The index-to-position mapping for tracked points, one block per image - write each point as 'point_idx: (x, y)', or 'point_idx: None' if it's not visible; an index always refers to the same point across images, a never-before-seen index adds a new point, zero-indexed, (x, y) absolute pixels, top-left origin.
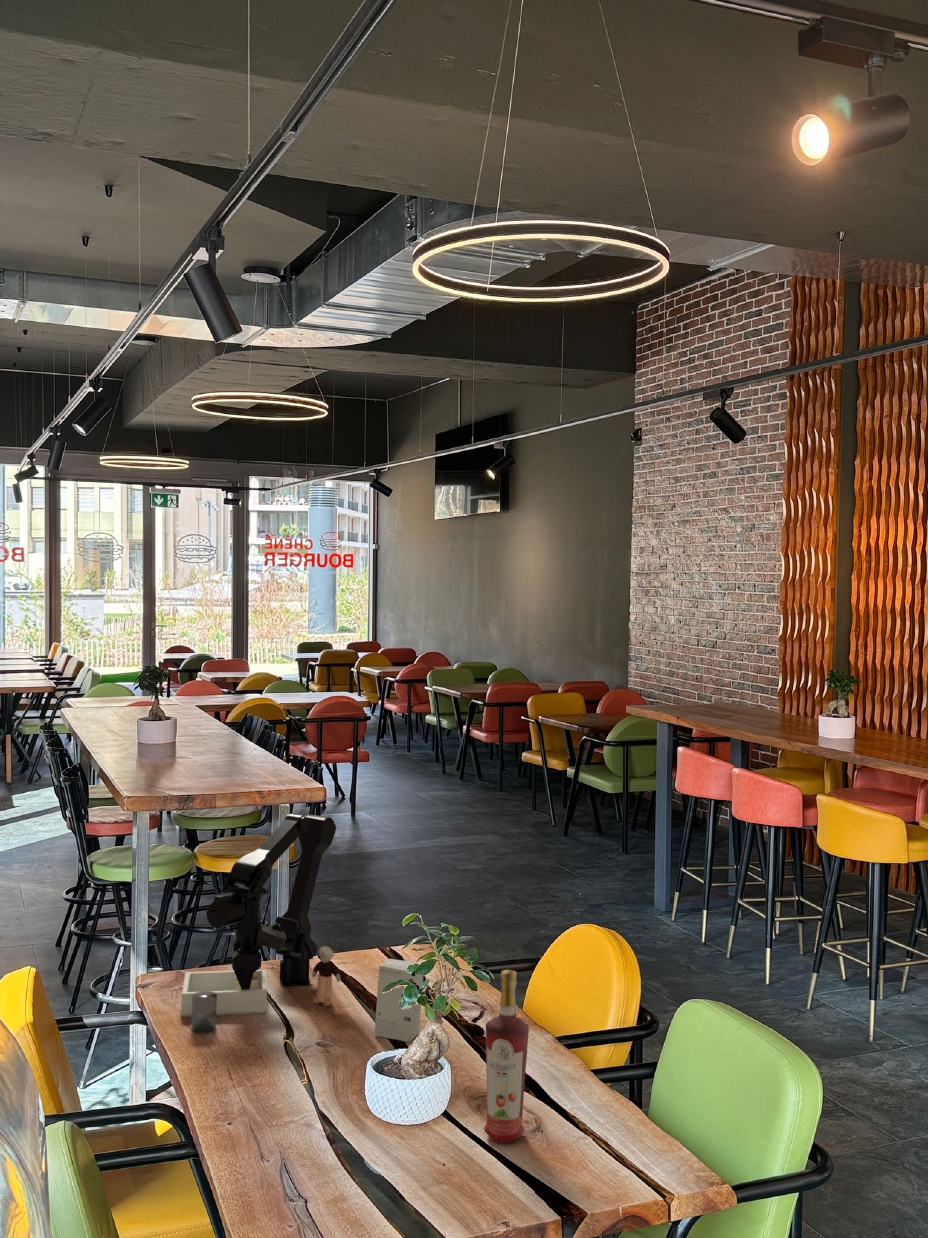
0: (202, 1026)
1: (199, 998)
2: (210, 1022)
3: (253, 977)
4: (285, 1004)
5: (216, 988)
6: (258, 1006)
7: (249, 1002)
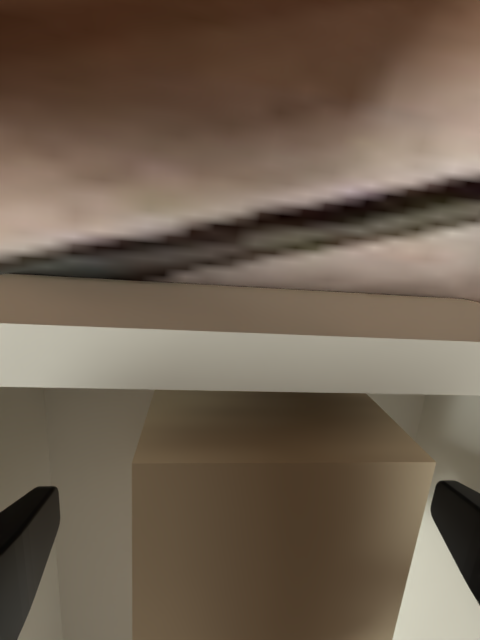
0: None
1: None
2: None
3: (269, 513)
4: (326, 139)
5: (46, 625)
6: None
7: None
